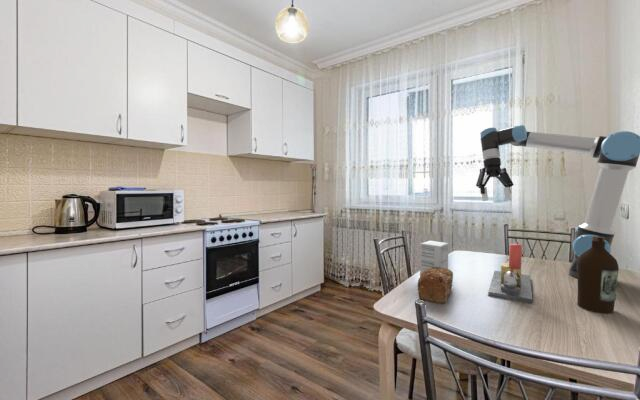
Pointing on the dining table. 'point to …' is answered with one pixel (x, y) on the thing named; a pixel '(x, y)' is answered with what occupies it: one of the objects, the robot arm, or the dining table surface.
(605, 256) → the olive oil
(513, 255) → the lever
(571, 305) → the dining table surface
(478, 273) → the dining table surface
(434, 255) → the supplement box
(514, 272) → the valve pipe
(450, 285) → the bread
